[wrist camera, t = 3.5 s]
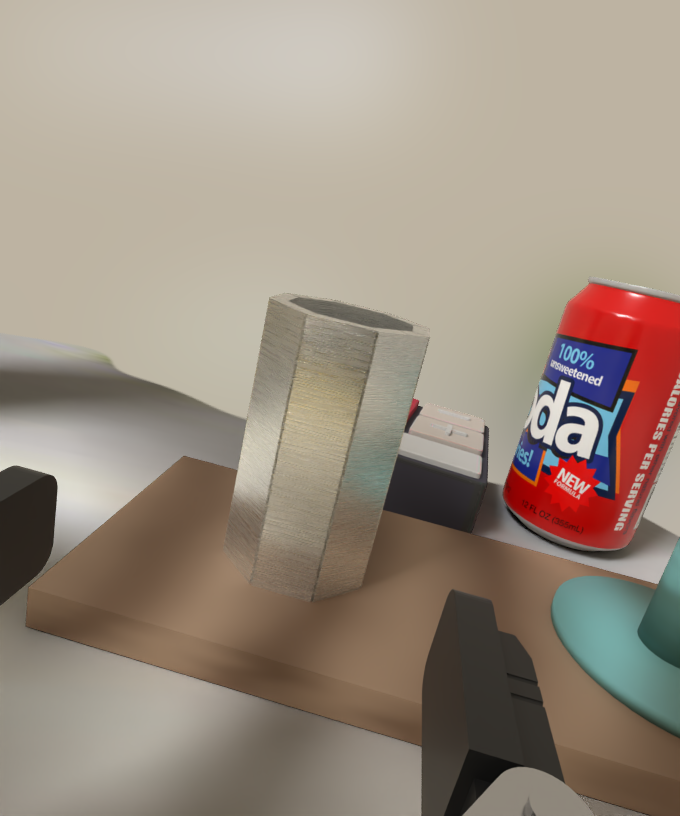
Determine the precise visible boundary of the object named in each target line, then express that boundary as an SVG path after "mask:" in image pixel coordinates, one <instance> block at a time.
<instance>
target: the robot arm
mask: <svg viewBox="0 0 680 816" xmlns="http://www.w3.org/2000/svg"><path fill="white" fill-rule="evenodd" d="M56 501H57V481H56V479H55V477H54V476H52V475H49V474H45V473H42V472H38V471H35V470H31V469H27V468H24V467H20V466H11V467H9V468H7V469H5V470H3V471H1V472H0V605H2V604H3V603H4V602H5V601H6V600H8V599H9V598H10V597H11V596H12V595H14V594H15V593H16V592H17V591H18V590H20V589H21V588H22V587H23V586H24V585H26V584H27V583H28V582H29V581H30V580H32V579H33V578H34V577H35V576H36V575H37V574H38V573H39V572H40V571H41V570H42V569H43V567H44V566H45V564H46V562H47V560H48V558H49V556H50V554H51V551H52V547H53V538H54V526H55V513H56ZM422 816H595V815H594V814H593V812H592V811H591V810H590V808H589V807H588V806H587V804H586V803H585V802H584V801H583V800H582V799H581V798H580V796H579V795H578V794H576V793H575V792H574V791H573V790H572V789H571V788H570V787H568V786H567V785H566V784H565V781H564V777H563V773H562V770H561V766H560V762H559V758H558V755H557V751H556V747H555V743H554V740H553V736H552V732H551V728H550V725H549V721H548V717H547V713H546V710H545V707H543V698H542V695H541V691H540V687H538V680H537V676H536V672H535V668H534V665H533V661H532V658H531V657H530V655H529V654H528V652H527V651H526V650H525V648H524V647H523V645H522V644H521V643H520V641H519V640H518V639H517V637H516V636H515V635H512V634H509V633H505V632H502V631H498V627H497V622H496V617H495V612H494V607H493V603H492V601H491V600H490V599H487V598H483V597H479V596H476V595H472V594H469V593H465V592H462V591H458V590H455V589H452V590H451V591H450V592H449V594H448V597H447V599H446V602H445V605H444V608H443V611H442V614H441V617H440V620H439V623H438V626H437V629H436V632H435V635H434V638H433V641H432V644H431V647H430V650H429V654H428V657H427V661H426V665H425V670H424V676H423V684H422Z"/></svg>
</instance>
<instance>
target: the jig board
mask: <svg viewBox="0 0 680 816" xmlns="http://www.w3.org/2000/svg"><path fill="white" fill-rule="evenodd" d="M237 471H238V470H235V469H231V468H227V467H224V466H220V465H216V464H212V463H209V462H205V461H201V460H198V459H194V458H190V457H187V456H183V457H182V458H181V459H180V460H178V461H177V462H176V463H175V464H174V465H172V466H171V467H170V468H169V469H168V470H167V471H165V472H164V473H163V474H162V475H161V476H159V477H158V478H157V479H156V480H155V481H154V482H152V483H151V484H150V485H149V486H148V487H146V488H145V489H144V490H143V491H142V492H141V493H139V494H138V495H137V496H136V497H135V498H133V499H132V500H131V501H130V502H129V503H128V504H126V505H125V506H124V507H123V508H122V509H120V510H119V511H118V512H117V513H116V514H114V515H113V516H112V517H111V518H110V519H109V520H107V521H106V522H105V523H104V524H103V525H101V526H100V527H99V528H98V529H97V530H96V531H94V532H93V533H92V534H91V535H90V536H88V537H87V538H86V539H85V540H84V541H83V542H81V543H80V544H79V545H78V546H77V547H75V548H74V549H73V550H72V551H71V552H70V553H68V554H67V555H66V556H65V557H64V558H62V559H61V560H60V561H59V562H58V563H56V564H55V565H54V566H53V567H52V568H51V569H49V570H48V571H47V572H46V573H45V574H43V575H42V576H41V577H40V578H39V579H38V580H36V581H35V582H34V583H33V584H32V585H30V586H29V587H28V598H27V613H26V627H30V628H33V629H36V630H40V631H43V632H46V633H50V634H53V635H56V636H60V637H63V638H66V639H69V640H73V641H76V642H79V643H83V644H86V645H89V646H93V647H96V648H99V649H102V650H106V651H109V652H112V653H116V654H119V655H122V656H126V657H129V658H132V659H135V660H139V661H142V662H145V663H149V664H152V665H155V666H159V667H162V668H165V669H169V670H172V671H175V672H178V673H182V674H185V675H188V676H192V677H195V678H198V679H202V680H205V681H208V682H211V683H215V684H218V685H221V686H225V687H228V688H231V689H235V690H238V691H241V692H245V693H248V694H251V695H254V696H258V697H261V698H264V699H268V700H271V701H274V702H278V703H281V704H284V705H287V706H291V707H294V708H297V709H301V710H304V711H307V712H311V713H314V714H317V715H320V716H324V717H327V718H330V719H334V720H337V721H340V722H344V723H347V724H350V725H354V726H357V727H360V728H363V729H367V730H370V731H373V732H377V733H380V734H383V735H387V736H390V737H393V738H396V739H400V740H403V741H406V742H410V743H413V744H416V745H420V746H422V684H423V676H424V670H425V665H426V661H427V657H428V654H429V650H430V647H431V644H432V641H433V638H434V635H435V632H436V629H437V626H438V623H439V620H440V617H441V614H442V611H443V608H444V605H445V602H446V599H447V597H448V594H449V592H450V591H451V590H452V589H455V590H458V591H462V592H465V593H469V594H472V595H476V596H479V597H483V598H487V599H490V600H491V601H492V603H493V607H494V612H495V617H496V622H497V627H498V631H502V632H505V633H509V634H512V635H515V636H516V637H517V639H518V640H519V641H520V643H521V644H522V645H523V647H524V648H525V650H526V651H527V652H528V654H529V655H530V657H531V658H532V661H533V665H534V668H535V672H536V676H537V680H538V687H540V691H541V695H542V698H543V707H545V710H546V713H547V717H548V721H549V725H550V728H551V732H552V736H553V740H554V743H555V747H556V751H557V755H558V758H559V762H560V766H561V770H562V773H563V777H564V781H565V784H566V785H567V786H568V787H570V788H571V789H572V790H573V791H574V792H575V793H578V794H581V795H585V796H588V797H591V798H595V799H598V800H601V801H605V802H608V803H611V804H614V805H618V806H621V807H624V808H628V809H631V810H634V811H638V812H641V813H644V814H648V815H651V816H680V538H679V540H678V542H677V544H676V546H675V549H674V551H673V553H672V555H671V557H670V559H669V562H668V564H667V566H666V568H665V570H664V573H663V575H662V577H661V579H660V581H659V583H658V584H654V583H650V582H647V581H643V580H639V579H636V578H632V577H628V576H625V575H621V574H617V573H614V572H610V571H606V570H603V569H599V568H595V567H592V566H588V565H584V564H581V563H577V562H573V561H570V560H566V559H562V558H558V557H555V556H551V555H547V554H544V553H540V552H536V551H533V550H529V549H525V548H522V547H518V546H514V545H511V544H507V543H503V542H500V541H496V540H492V539H489V538H485V537H481V536H477V535H474V534H470V533H466V532H463V531H459V530H455V529H452V528H448V527H444V526H441V525H437V524H433V523H430V522H426V521H422V520H419V519H415V518H411V517H408V516H404V515H400V514H397V513H393V512H389V511H385V510H382V513H381V517H380V521H379V524H378V528H377V532H376V535H375V539H374V543H373V546H372V550H371V553H370V557H369V561H368V564H367V568H366V572H365V575H364V579H363V583H362V586H361V588H360V589H359V590H355V591H352V592H348V593H344V594H341V595H337V596H334V597H330V598H327V599H323V600H319V601H316V602H312V601H310V602H308V601H304V600H301V599H297V598H294V597H290V596H287V595H283V594H280V593H276V592H273V591H269V590H266V589H262V588H259V587H256V586H252V583H251V584H249V583H248V582H247V580H246V579H245V578H244V577H243V575H242V574H241V573H240V571H239V570H238V569H237V568H236V566H235V565H234V564H233V562H232V561H231V560H230V559H229V557H228V556H227V555H226V554H225V552H224V551H223V547H224V541H225V536H226V530H227V525H228V519H229V514H230V509H231V503H232V498H233V492H234V487H235V481H236V476H237Z"/></svg>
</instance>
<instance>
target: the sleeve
mask: <svg viewBox="0 0 680 816" xmlns="http://www.w3.org/2000/svg"><path fill="white" fill-rule="evenodd" d="M429 338H430V331H429V328H427V327H425V326H422V325H419V324H417V323H414V322H411V321H409V320H406V319H403V318H400V317H398V316H395V315H392V314H389V313H386V312H382V311H378V310H374V309H370V308H366V307H361V306H357V305H353V304H349V303H345V302H341V301H336V300H332V299H324V298H318V297H310V296H304V295H297V294H289V293H283V294H279V295H276V296H272V297H270V298H269V302H268V308H267V313H266V319H265V324H264V330H263V335H262V340H261V346H260V351H259V357H258V362H257V368H256V373H255V378H254V384H253V389H252V395H251V400H250V406H249V411H248V417H247V422H246V427H245V433H244V438H243V443H242V449H241V454H240V460H239V465H238V471H237V476H236V481H235V487H234V492H233V498H232V503H231V509H230V514H229V519H228V525H227V530H226V536H225V541H224V547H223V551H224V552H225V554H226V555H227V556H228V557H229V559H230V560H231V561H232V562H233V564H234V565H235V566H236V568H237V569H238V570H239V571H240V573H241V574H242V575H243V577H244V578H245V579H246V580H247V582H248V583H249V584H251V583H252V586H256V587H259V588H262V589H266V590H269V591H273V592H276V593H280V594H283V595H287V596H290V597H294V598H297V599H301V600H304V601H308V602H310V601H312V602H316V601H319V600H323V599H327V598H330V597H334V596H337V595H341V594H344V593H348V592H352V591H355V590H359V589H360V588H361V586H362V583H363V579H364V575H365V572H366V568H367V564H368V561H369V557H370V553H371V550H372V546H373V543H374V539H375V535H376V532H377V528H378V524H379V521H380V517H381V513H382V510H383V506H384V502H385V499H386V495H387V492H388V488H389V484H390V481H391V477H392V473H393V470H394V466H395V462H396V459H397V455H398V451H399V448H400V444H401V441H402V437H403V433H404V430H405V426H406V422H407V419H408V415H409V411H410V408H411V404H412V400H413V397H414V393H415V390H416V386H417V382H418V379H419V375H420V371H421V368H422V364H423V360H424V357H425V353H426V349H427V346H428V342H429Z"/></svg>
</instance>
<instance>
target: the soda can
mask: <svg viewBox="0 0 680 816" xmlns="http://www.w3.org/2000/svg"><path fill="white" fill-rule="evenodd" d="M588 282H589V284H588V285H587V286H586V287H585V288H584V289H583V290H582V291H580V292H579V293H578V294H577V295H576V296H574V297H573V298H572V299H571V300H570V301H568V303H567V305H566V307H565V310H564V313H563V315H562V318H561V321H560V324H559V327H558V330H557V333H556V336H555V339H554V341H553V344H552V348H551V350H550V353H549V356H548V359H547V362H546V365H545V368H544V371H543V374H542V376H541V380H540V382H539V385H538V388H537V391H536V394H535V397H534V400H533V403H532V406H531V409H530V412H529V414H528V417H527V420H526V423H525V426H524V429H523V432H522V435H521V438H520V441H519V444H518V446H517V450H516V452H515V455H514V458H513V461H512V464H511V467H510V470H509V473H508V476H507V479H506V482H505V485H504V488H503V498H504V501H505V503H506V505H507V506H508V507H509V509H510V510H511V511H512V512H513V513H514V514H515V515H516V516H517V517H518V519H519V520H520V521H521V522H522V523H523V524H524V525H525V526H527V527H528V528H529V529H531V530H532V531H534V532H535V533H537V534H538V535H540V536H542V537H544V538H546V539H548V540H550V541H552V542H555V543H557V544H560V545H563V546H566V547H569V548H573V549H577V550H583V551H613V550H618V549H622V548H624V547H626V546H627V545H629V543H630V542H631V540H632V538H633V536H634V534H635V532H636V530H637V528H638V525H639V523H640V521H641V518H642V516H643V514H644V511H645V509H646V507H647V505H648V502H649V500H650V498H651V495H652V493H653V491H654V488H655V486H656V484H657V481H658V479H659V477H660V474H661V472H662V470H663V467H664V465H665V463H666V460H667V458H668V456H669V453H670V451H671V449H672V447H673V444H674V442H675V439H676V437H677V435H678V433H679V430H680V295H676V294H672V293H668V292H664V291H660V290H656V289H651V288H647V287H642V286H637V285H631V284H626V283H622V282H617V281H612V280H607V279H601V278H596V277H589V279H588Z"/></svg>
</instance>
